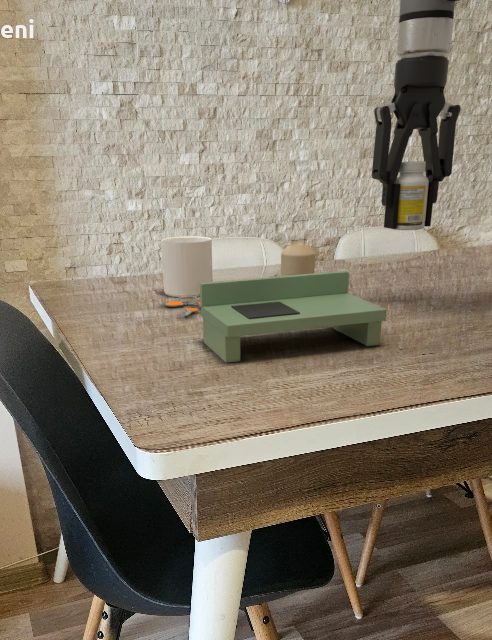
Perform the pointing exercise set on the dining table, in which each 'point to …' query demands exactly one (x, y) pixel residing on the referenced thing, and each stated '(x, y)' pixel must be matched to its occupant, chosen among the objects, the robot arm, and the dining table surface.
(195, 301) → the key chain
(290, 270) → the candle
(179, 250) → the mug
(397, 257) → the dining table surface
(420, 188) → the supplement bottle
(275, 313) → the green l-shaped stand
